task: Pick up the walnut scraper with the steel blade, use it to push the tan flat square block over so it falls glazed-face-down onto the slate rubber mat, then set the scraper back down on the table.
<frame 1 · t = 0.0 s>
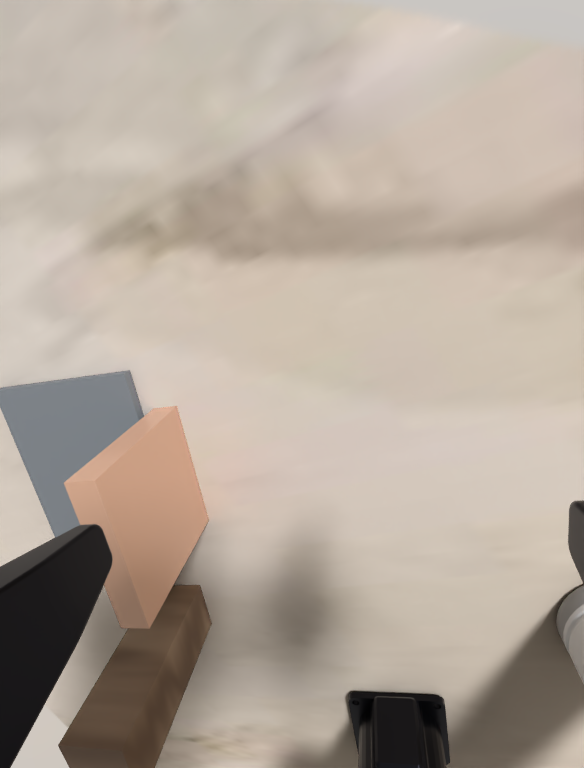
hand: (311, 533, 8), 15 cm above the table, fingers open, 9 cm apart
walnut scraper: (183, 604, 30), on the table
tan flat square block: (182, 466, 26), on the table
slate mat: (94, 466, 27), on the table
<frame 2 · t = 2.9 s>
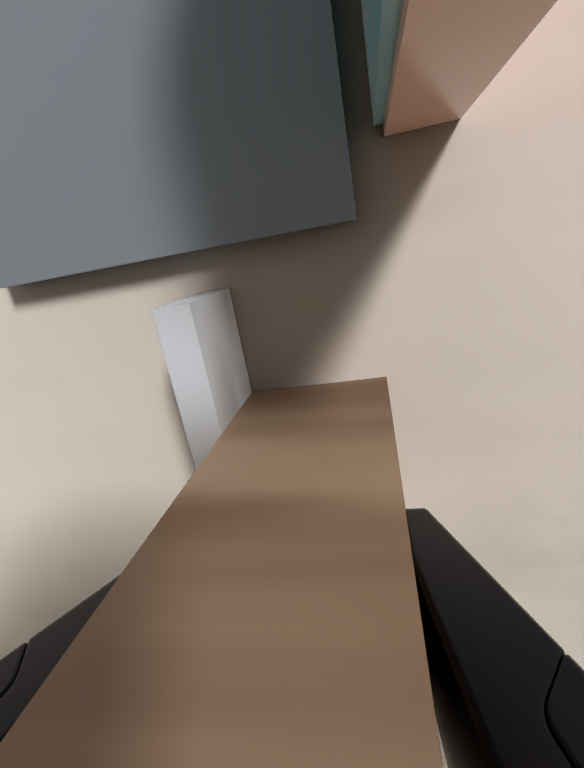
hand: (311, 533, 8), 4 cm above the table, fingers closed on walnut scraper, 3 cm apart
walnut scraper: (326, 445, 11), on the table, touching gripper
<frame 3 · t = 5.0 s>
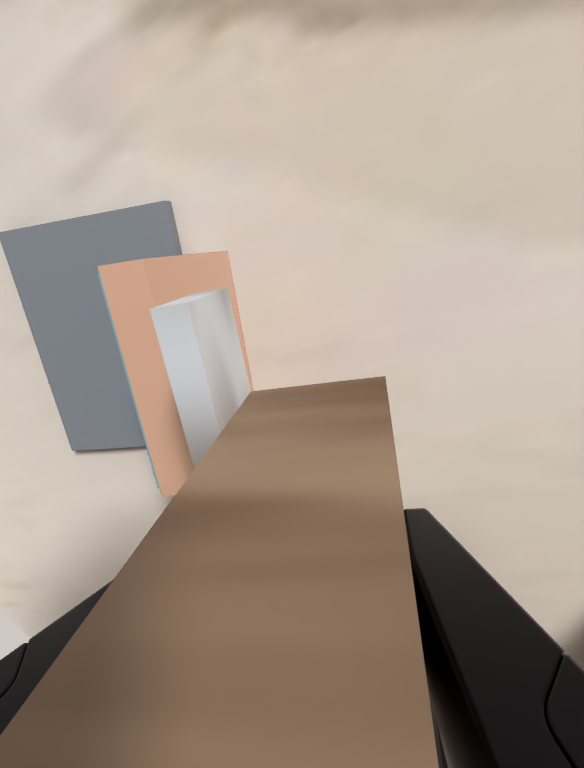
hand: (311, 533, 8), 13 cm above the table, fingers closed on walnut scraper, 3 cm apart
walnut scraper: (325, 445, 11), point 10 cm above the table, touching gripper
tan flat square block: (228, 335, 21), on the table
slate mat: (119, 339, 22), on the table
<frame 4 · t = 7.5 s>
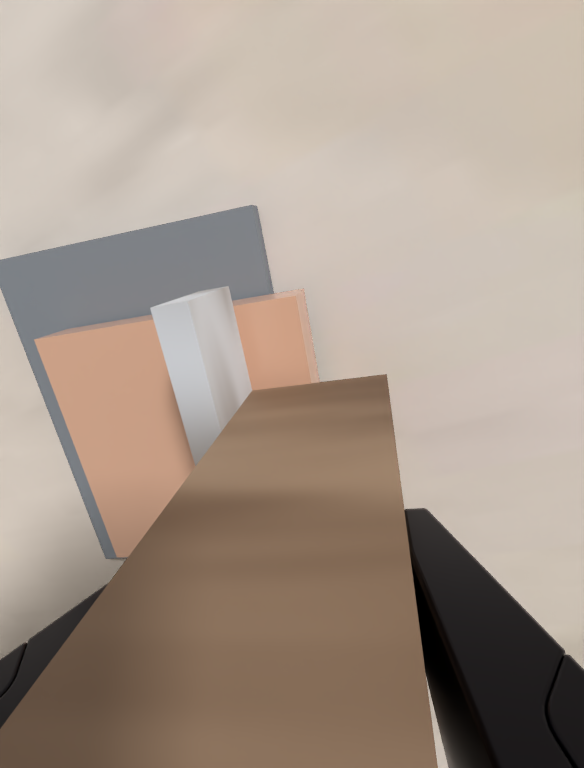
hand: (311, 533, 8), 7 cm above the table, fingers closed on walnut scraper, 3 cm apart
walnut scraper: (327, 443, 11), point 3 cm above the table, touching gripper
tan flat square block: (323, 424, 13), point 2 cm above the table, tilted 90°, touching slate mat
slate mat: (172, 408, 15), on the table
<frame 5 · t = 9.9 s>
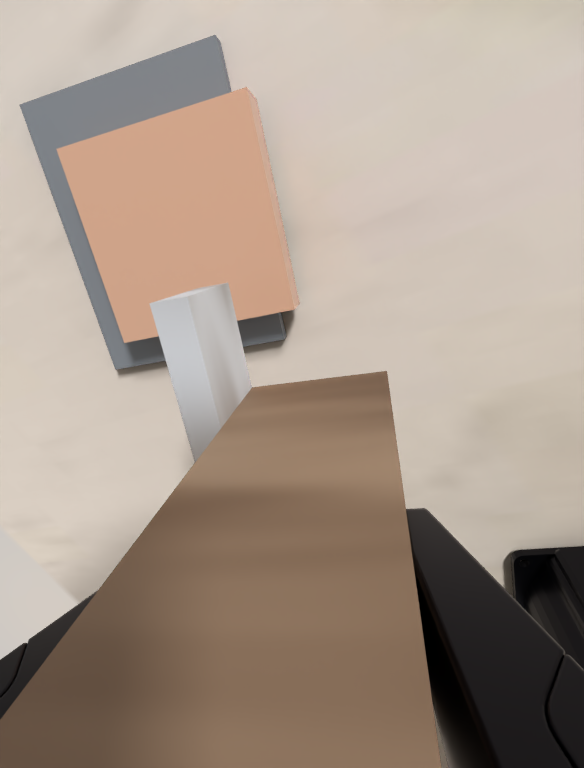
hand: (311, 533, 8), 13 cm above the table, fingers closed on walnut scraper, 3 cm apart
walnut scraper: (327, 440, 11), point 9 cm above the table, touching gripper
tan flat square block: (276, 207, 17), point 2 cm above the table, tilted 90°, touching slate mat
slate mat: (163, 227, 19), on the table
when the fingers open (4 cm above the table, at t = 12.2 s): walnut scraper stays where it is, on the table.
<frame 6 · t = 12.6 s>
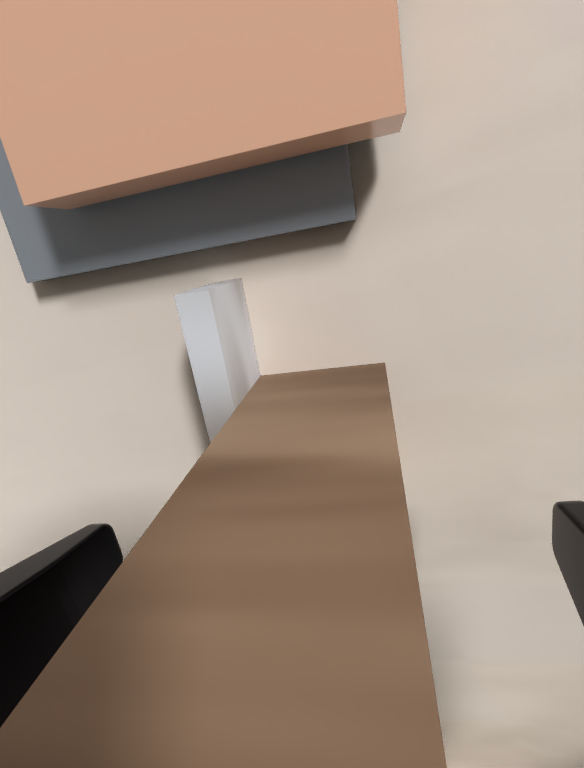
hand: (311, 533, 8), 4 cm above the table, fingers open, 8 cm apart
walnut scraper: (328, 426, 12), on the table
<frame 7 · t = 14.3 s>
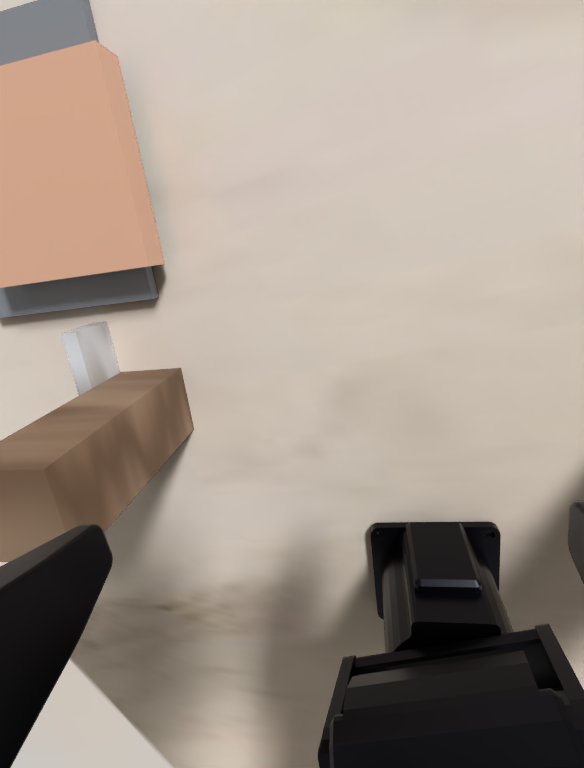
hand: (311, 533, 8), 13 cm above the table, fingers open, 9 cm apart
walnut scraper: (157, 400, 23), on the table
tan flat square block: (134, 164, 17), point 2 cm above the table, tilted 90°, touching slate mat
slate mat: (40, 179, 20), on the table
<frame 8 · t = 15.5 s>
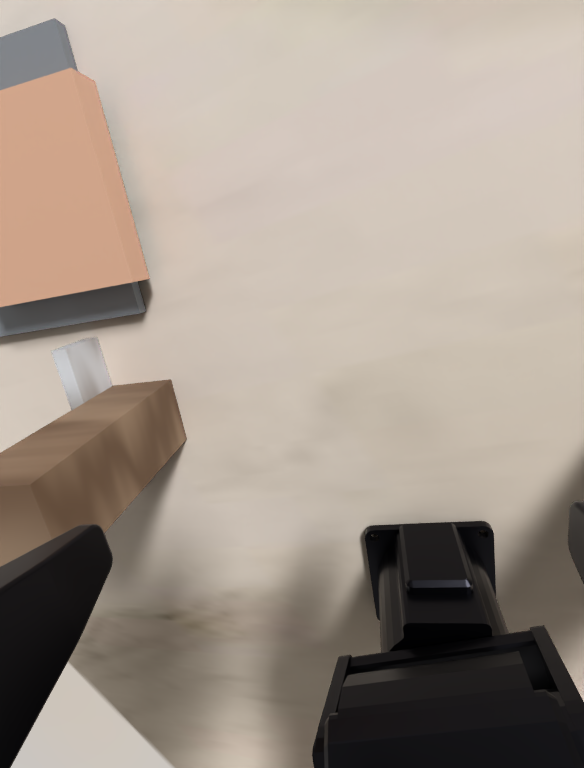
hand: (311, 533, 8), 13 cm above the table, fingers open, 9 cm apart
walnut scraper: (149, 412, 23), on the table
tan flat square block: (114, 184, 18), point 2 cm above the table, tilted 90°, touching slate mat
slate mat: (27, 202, 20), on the table
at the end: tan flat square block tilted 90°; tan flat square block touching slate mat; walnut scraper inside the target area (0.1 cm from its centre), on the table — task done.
